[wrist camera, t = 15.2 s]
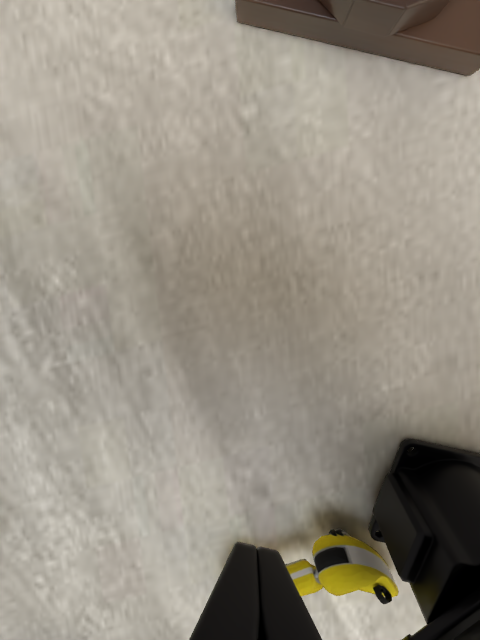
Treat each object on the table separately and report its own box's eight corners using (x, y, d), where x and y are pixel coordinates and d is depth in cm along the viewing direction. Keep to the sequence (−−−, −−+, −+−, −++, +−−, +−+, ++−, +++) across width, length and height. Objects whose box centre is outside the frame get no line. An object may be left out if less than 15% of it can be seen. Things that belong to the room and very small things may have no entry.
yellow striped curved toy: (354, 498, 19) (383, 572, 16) (379, 542, 23) (407, 609, 20) (192, 557, 21) (193, 634, 18) (239, 589, 24) (246, 658, 21)
